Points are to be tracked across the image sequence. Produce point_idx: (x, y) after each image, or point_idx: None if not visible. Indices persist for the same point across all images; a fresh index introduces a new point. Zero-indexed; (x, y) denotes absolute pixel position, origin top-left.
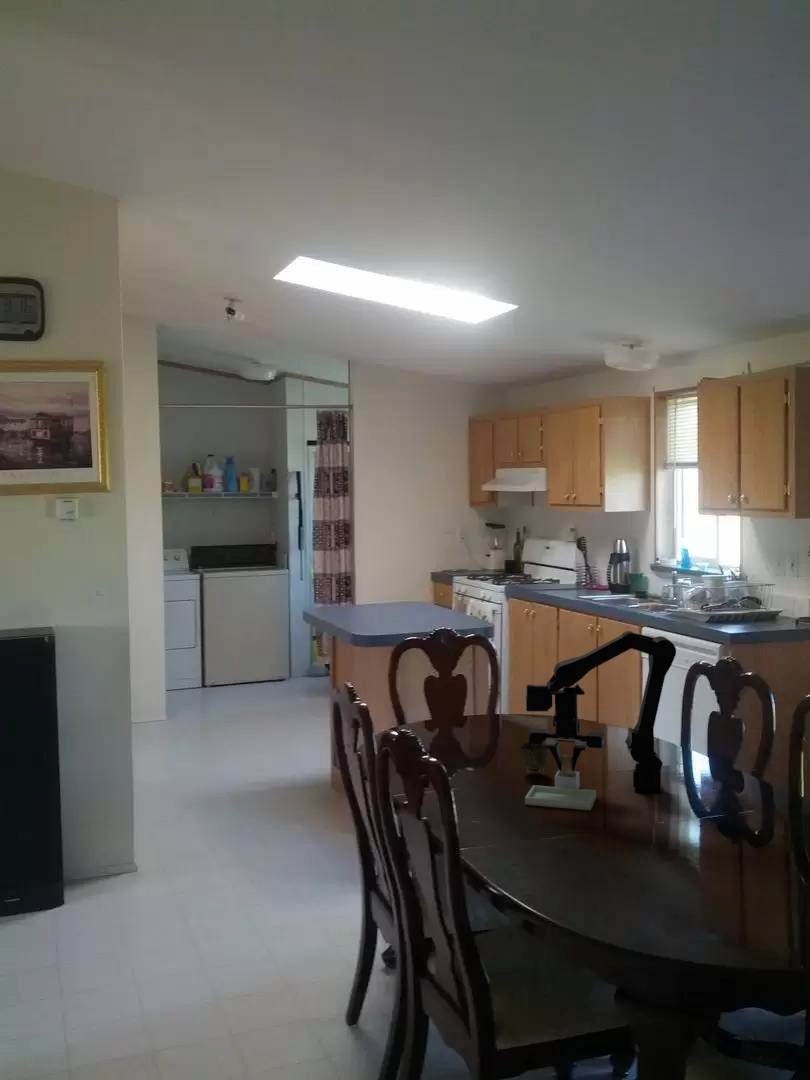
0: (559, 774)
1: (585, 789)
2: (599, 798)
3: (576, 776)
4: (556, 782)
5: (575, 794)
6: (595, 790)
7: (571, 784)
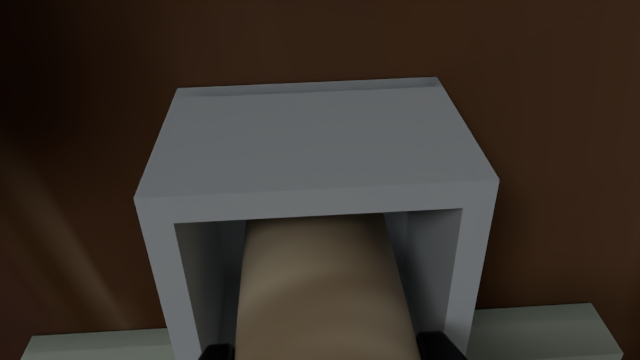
0: (187, 230)
1: (523, 358)
2: (614, 311)
3: None
4: None
5: None
6: (616, 357)
7: None
